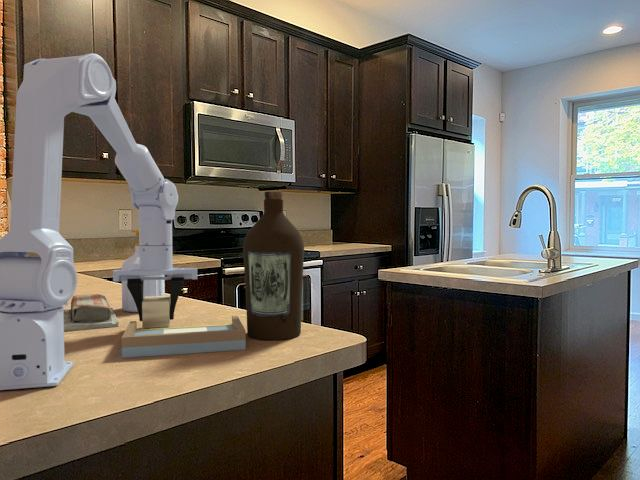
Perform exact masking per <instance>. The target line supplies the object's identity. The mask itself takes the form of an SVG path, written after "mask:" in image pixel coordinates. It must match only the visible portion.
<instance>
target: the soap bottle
mask: <svg viewBox="0 0 640 480" xmlns="http://www.w3.org/2000/svg"><path fill="white" fill-rule="evenodd" d="M131 233H135V234H136V235H135V236H136V237H139V229H137V230H136V229H132V230H131ZM134 251H135V252H134V253H133V254H132V255H130V256H129V257H128V258H127V259H125V260H124V261H123V263H122V265H121V267H120V268H121V270H126V269H140V260H139V242H135V243H134ZM145 277H165V275H155V276H145ZM165 281H166V280H144V285H143V300H144V298H145V296H166V295H165V294H166V293H165V292H166V291H165V290H166V289H165V287H166V286H165V285H166V284H165ZM121 308H122V310H123V311H124V312H127V313H138V310H137V307H136V304H135V301H134V299H133V297H132V295H131V293H130V291H129V289H128V287H127V281H121Z"/></svg>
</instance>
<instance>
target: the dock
mask: <svg viewBox="0 0 640 480" xmlns="http://www.w3.org/2000/svg"><path fill="white" fill-rule="evenodd" d="M137 324H138V323H137V320H132V321H131V320H130V321H129V323H128V325H127V326H126V329H125V331H124V332H123V334H122V336H121V358H122V359H125V358H142V357H157V356H170V355H183V354H184V355H185V354H187V355H188V354H199V353H201V354H202V353H213V352H229V351H242V350H244V351H245V350H246V349H247V348H246V347H247V346H246V343H247V342H246V338H247V337H246V329H245V327H244V325H243V322H242V321H241V320H240V318H239V316H238V315H232V316H231V323H226V324H207V325H190V326H175V327H173V326H172V327H171V326H169V328H163V327H153V328H150V329H144V328H140V329H139V328H137Z"/></svg>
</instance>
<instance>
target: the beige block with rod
mask: <svg viewBox="0 0 640 480" xmlns="http://www.w3.org/2000/svg"><path fill="white" fill-rule="evenodd" d="M141 322H142V325H141V327H142V328H141V329H151V328H169V327H170V324H171V320H170V295H165V296H145V298H144V300H143V302H142V321H141Z"/></svg>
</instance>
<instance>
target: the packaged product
mask: <svg viewBox="0 0 640 480" xmlns="http://www.w3.org/2000/svg"><path fill="white" fill-rule="evenodd" d="M63 314H64V332H72V331H82V330H85V331H86V330H95V329H104V328H105V329H106V328H116V327H119V320H118V318H117V315H116V313H115V311H114V309H113V307H111V306H110V304H109V303H108V300H107V297H106V296H105V295H103V294H99V293H94V294H93V293H92V294H91V293H90V294H77V295H76V294H75V295H73V296H72V298H71V299H70V309H67V308H65V309H64V308H63Z"/></svg>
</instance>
